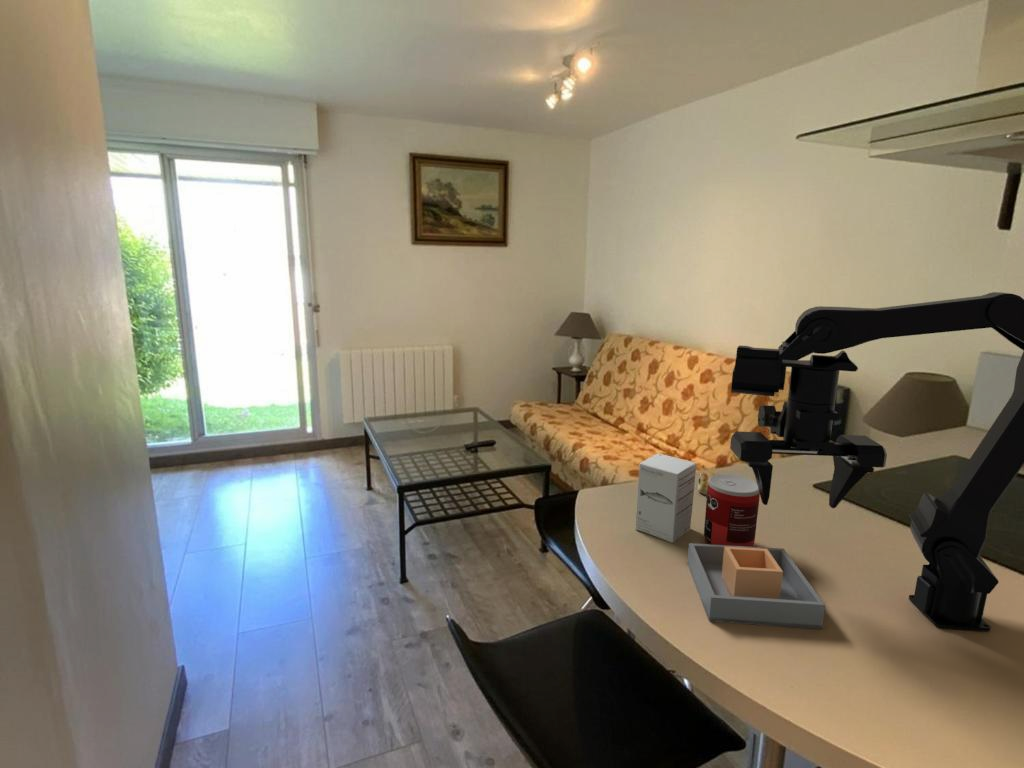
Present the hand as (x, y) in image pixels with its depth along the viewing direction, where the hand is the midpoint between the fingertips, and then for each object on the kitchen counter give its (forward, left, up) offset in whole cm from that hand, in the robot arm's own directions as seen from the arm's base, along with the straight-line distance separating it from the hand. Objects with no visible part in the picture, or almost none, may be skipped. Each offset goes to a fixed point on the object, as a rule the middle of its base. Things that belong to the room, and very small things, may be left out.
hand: (797, 505), depth 77 cm
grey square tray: (+7, +4, -12) cm, 14 cm away
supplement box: (+16, -14, -12) cm, 25 cm away
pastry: (+2, -32, -12) cm, 35 cm away
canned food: (+6, -10, -12) cm, 17 cm away
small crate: (+7, +4, -12) cm, 14 cm away
